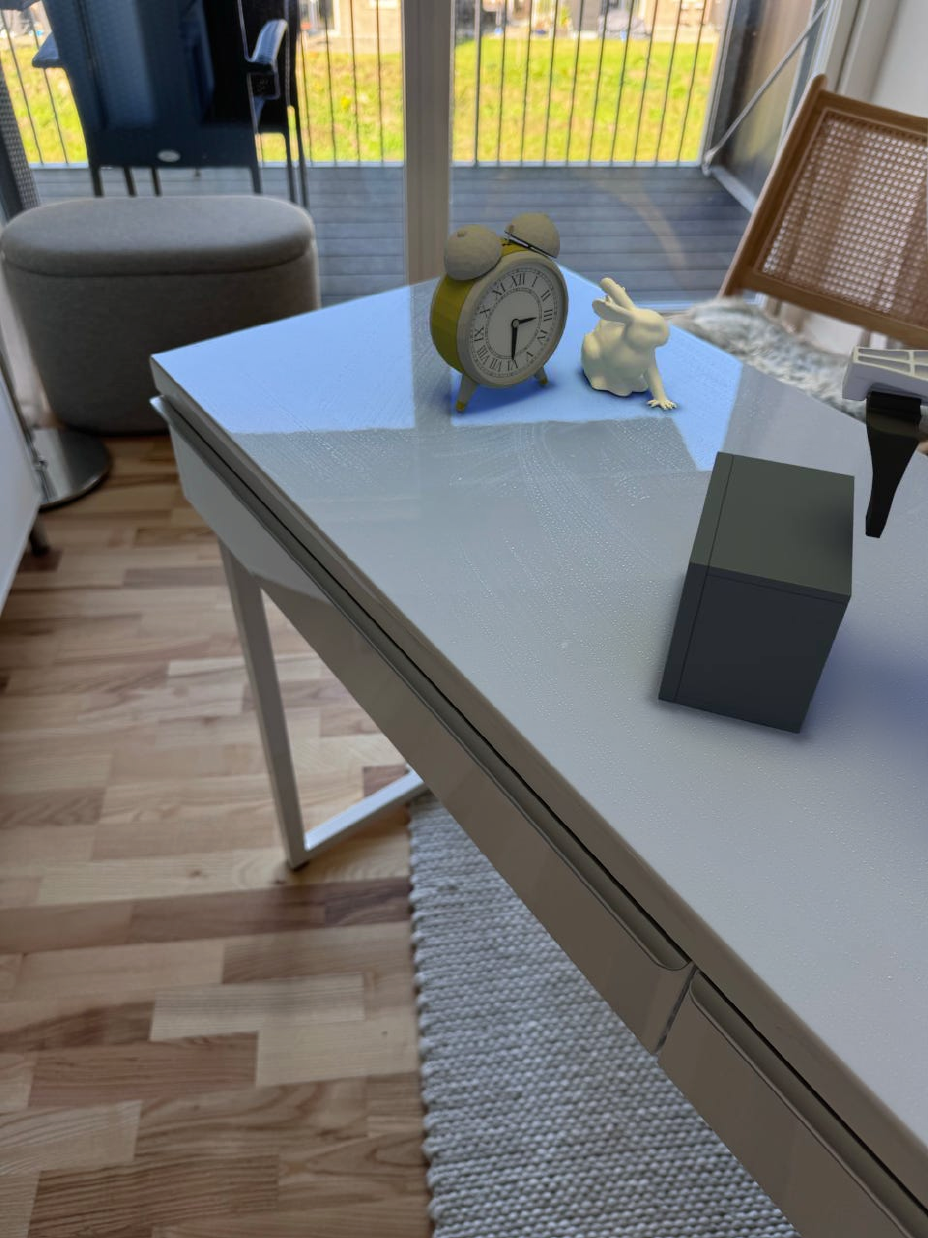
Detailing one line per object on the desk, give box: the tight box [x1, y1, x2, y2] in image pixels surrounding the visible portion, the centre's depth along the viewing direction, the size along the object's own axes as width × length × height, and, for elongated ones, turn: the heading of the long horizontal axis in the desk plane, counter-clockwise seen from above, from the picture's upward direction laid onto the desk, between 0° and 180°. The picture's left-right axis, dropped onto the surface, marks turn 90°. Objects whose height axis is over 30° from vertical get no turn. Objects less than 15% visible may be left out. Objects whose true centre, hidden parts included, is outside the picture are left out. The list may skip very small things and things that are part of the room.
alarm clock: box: [429, 211, 570, 413], centre depth 78 cm, size 12×7×15 cm, turn 126°
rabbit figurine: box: [580, 277, 677, 411], centre depth 81 cm, size 12×8×10 cm, turn 18°
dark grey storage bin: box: [657, 451, 856, 734], centre depth 54 cm, size 8×12×10 cm, turn 161°
